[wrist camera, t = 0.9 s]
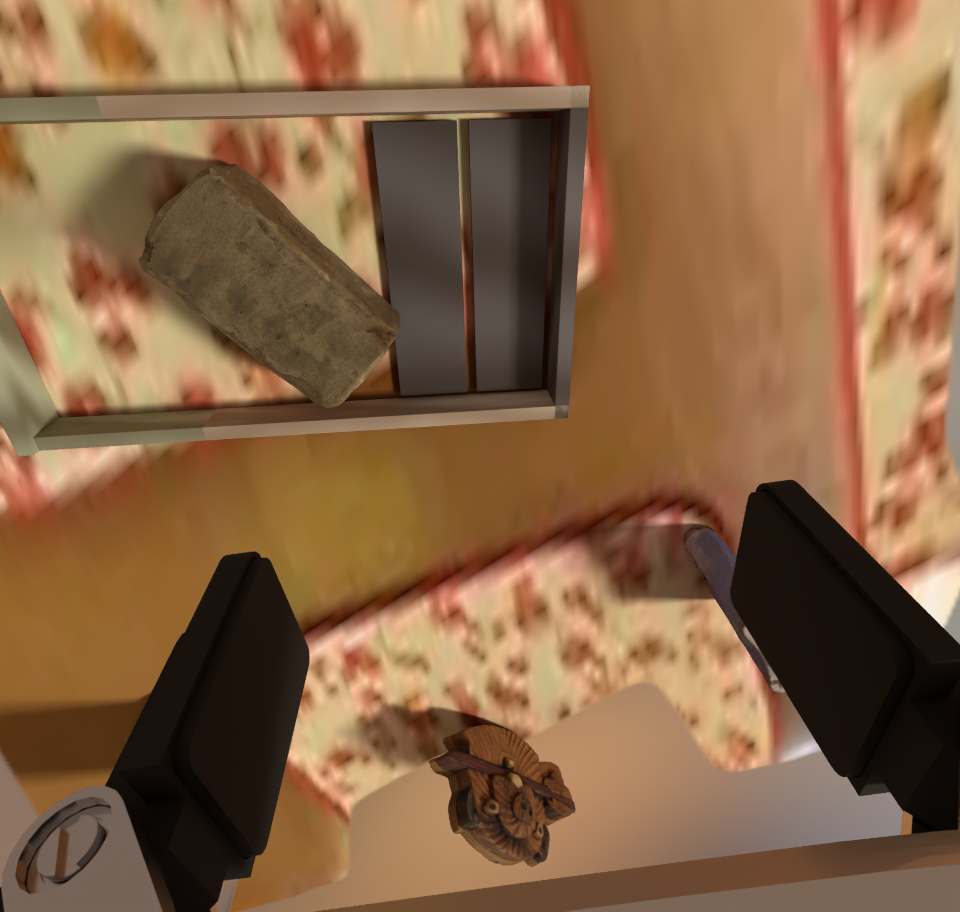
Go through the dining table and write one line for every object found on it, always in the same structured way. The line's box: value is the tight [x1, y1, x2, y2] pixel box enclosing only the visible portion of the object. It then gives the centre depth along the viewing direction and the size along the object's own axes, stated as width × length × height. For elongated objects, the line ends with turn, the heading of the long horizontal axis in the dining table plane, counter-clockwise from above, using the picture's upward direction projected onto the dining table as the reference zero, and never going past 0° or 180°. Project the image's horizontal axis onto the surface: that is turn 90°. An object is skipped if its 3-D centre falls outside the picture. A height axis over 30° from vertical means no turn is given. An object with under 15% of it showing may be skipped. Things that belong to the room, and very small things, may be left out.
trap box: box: [0, 86, 590, 456], centre depth 27 cm, size 16×31×3 cm, turn 91°
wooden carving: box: [429, 725, 575, 867], centre depth 47 cm, size 16×5×10 cm, turn 50°
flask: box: [684, 525, 786, 693], centre depth 38 cm, size 9×3×11 cm, turn 32°
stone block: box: [139, 164, 402, 408], centre depth 26 cm, size 6×12×5 cm, turn 45°
